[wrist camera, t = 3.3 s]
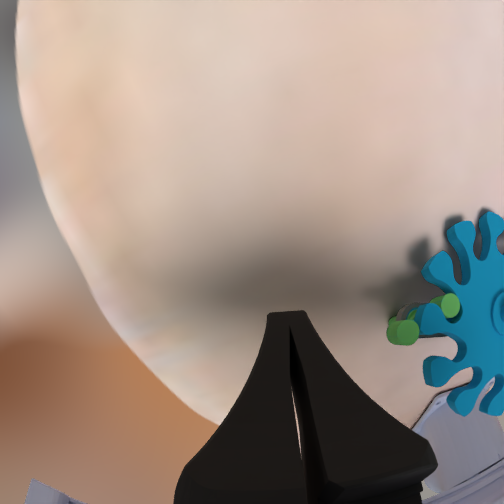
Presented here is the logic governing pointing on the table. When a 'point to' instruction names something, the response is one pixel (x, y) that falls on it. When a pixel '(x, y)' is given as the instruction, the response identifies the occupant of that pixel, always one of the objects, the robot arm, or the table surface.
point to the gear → (463, 317)
